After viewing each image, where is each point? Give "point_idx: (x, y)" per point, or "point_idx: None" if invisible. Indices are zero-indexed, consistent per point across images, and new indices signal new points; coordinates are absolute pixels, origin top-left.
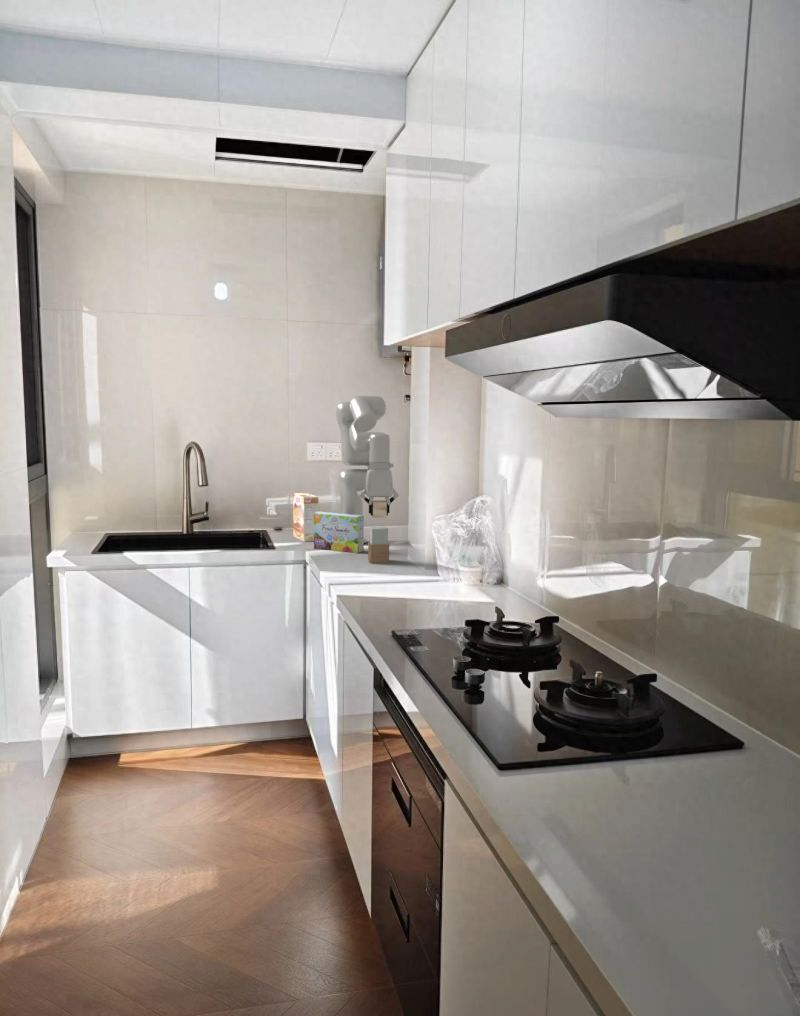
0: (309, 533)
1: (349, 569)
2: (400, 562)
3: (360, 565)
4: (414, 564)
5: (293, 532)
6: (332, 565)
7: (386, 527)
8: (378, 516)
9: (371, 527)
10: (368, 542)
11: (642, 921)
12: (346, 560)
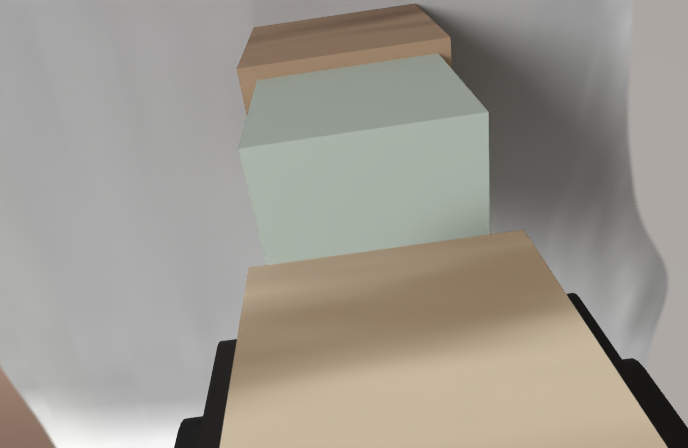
0: None
1: (164, 355)
2: (519, 117)
3: (217, 241)
4: (607, 185)
5: None
6: (15, 254)
7: (487, 201)
8: None
9: (266, 219)
10: (241, 87)
11: None
12: (64, 54)
